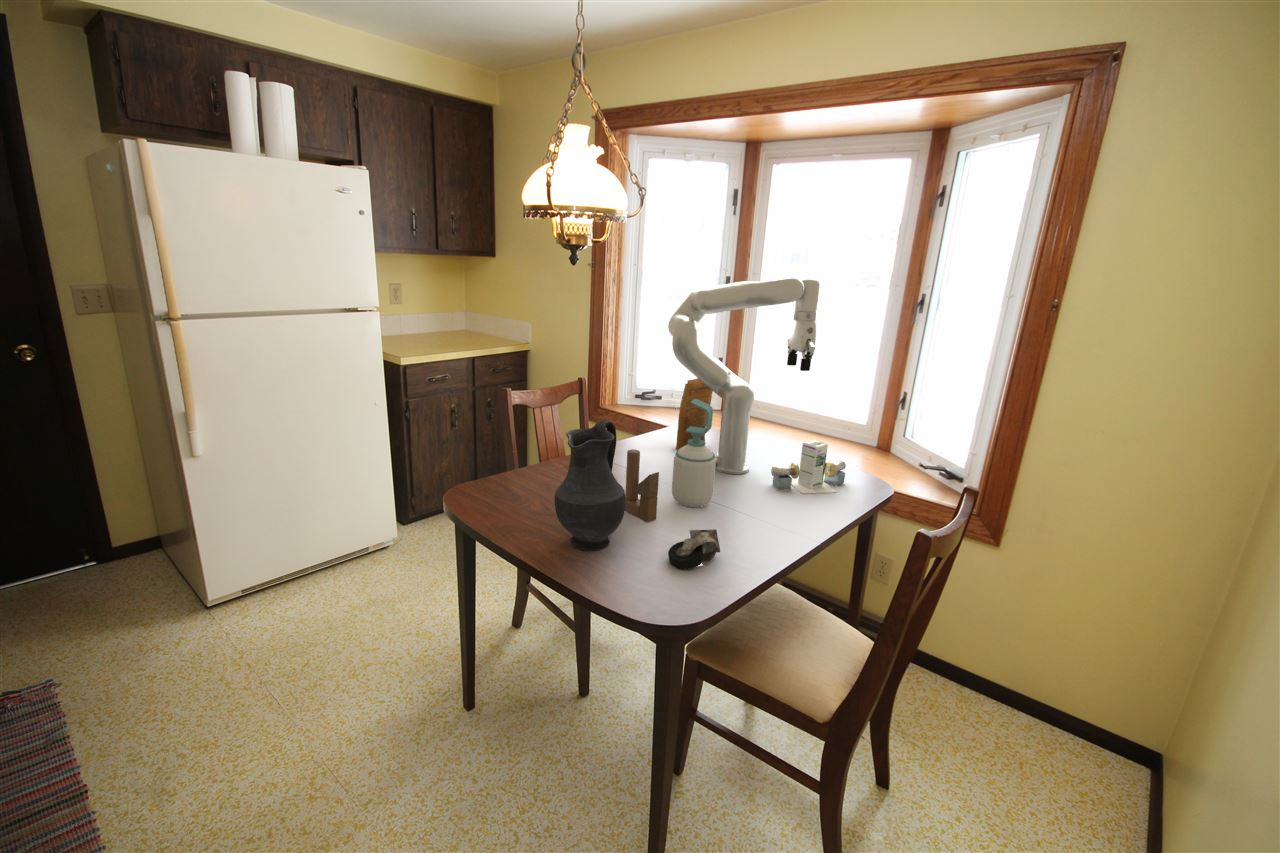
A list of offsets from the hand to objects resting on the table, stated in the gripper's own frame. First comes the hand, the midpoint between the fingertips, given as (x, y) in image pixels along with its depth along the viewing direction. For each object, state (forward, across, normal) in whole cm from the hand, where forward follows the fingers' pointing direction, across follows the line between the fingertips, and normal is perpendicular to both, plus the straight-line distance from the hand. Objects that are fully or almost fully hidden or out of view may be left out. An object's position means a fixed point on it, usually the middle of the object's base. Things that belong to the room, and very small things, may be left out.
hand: (797, 367), depth 188 cm
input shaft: (+36, -16, +9) cm, 41 cm away
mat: (+36, -16, -1) cm, 40 cm away
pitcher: (+36, -45, +74) cm, 94 cm away
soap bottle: (+36, -25, +42) cm, 61 cm away
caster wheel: (+37, -59, +52) cm, 87 cm away
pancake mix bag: (+36, +26, +27) cm, 52 cm away
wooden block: (+36, -32, +60) cm, 77 cm away
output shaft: (+36, -14, -11) cm, 41 cm away
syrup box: (+36, -16, -1) cm, 40 cm away
